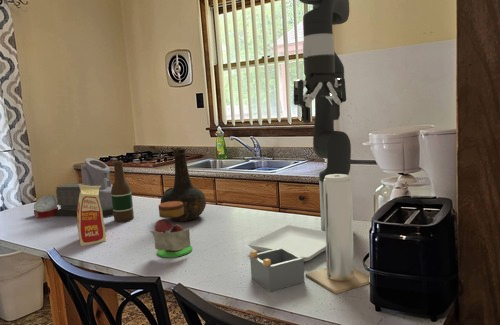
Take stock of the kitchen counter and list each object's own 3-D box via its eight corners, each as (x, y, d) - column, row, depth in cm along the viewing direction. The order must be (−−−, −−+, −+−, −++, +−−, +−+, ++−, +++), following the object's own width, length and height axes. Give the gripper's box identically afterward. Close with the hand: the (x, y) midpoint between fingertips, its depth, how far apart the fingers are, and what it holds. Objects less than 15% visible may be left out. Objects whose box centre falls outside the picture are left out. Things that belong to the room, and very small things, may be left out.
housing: (284, 269, 111) (282, 242, 110) (304, 281, 103) (303, 253, 102) (249, 278, 107) (247, 250, 106) (268, 292, 98) (266, 262, 97)
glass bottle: (180, 211, 179) (174, 145, 175) (216, 214, 171) (210, 145, 167) (152, 222, 164) (145, 151, 160) (189, 226, 155) (183, 151, 152)
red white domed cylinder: (60, 223, 191) (67, 204, 188) (40, 227, 182) (47, 207, 179) (45, 210, 195) (51, 191, 192) (25, 213, 186) (31, 193, 183)
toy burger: (152, 248, 134) (147, 202, 132) (192, 243, 137) (188, 197, 135) (152, 261, 123) (147, 211, 121) (195, 255, 125) (191, 206, 123)
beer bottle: (110, 222, 169) (103, 162, 165) (122, 216, 176) (116, 159, 172) (125, 223, 166) (119, 162, 162) (138, 217, 173) (132, 159, 169)
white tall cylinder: (354, 282, 99) (351, 177, 96) (326, 281, 101) (322, 178, 97) (353, 271, 106) (351, 172, 102) (327, 270, 107) (323, 173, 103)
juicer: (131, 208, 190) (125, 154, 186) (111, 218, 174) (104, 160, 171) (73, 208, 197) (67, 156, 194) (49, 218, 182) (42, 161, 179)
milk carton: (81, 246, 141) (73, 187, 138) (78, 239, 149) (71, 183, 146) (109, 240, 145) (103, 183, 142) (105, 233, 153) (98, 179, 150)
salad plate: (307, 269, 111) (307, 256, 111) (246, 254, 125) (246, 242, 125) (346, 245, 127) (345, 234, 127) (288, 234, 141) (287, 224, 140)
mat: (343, 265, 111) (343, 263, 111) (376, 281, 101) (376, 278, 101) (305, 275, 106) (305, 273, 106) (335, 293, 95) (335, 291, 95)
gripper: (332, 56, 110) (334, 119, 112) (285, 57, 104) (289, 123, 106) (351, 52, 103) (353, 119, 106) (302, 53, 97) (305, 123, 99)
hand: (321, 121), depth 106 cm, fingers open, 8 cm apart
